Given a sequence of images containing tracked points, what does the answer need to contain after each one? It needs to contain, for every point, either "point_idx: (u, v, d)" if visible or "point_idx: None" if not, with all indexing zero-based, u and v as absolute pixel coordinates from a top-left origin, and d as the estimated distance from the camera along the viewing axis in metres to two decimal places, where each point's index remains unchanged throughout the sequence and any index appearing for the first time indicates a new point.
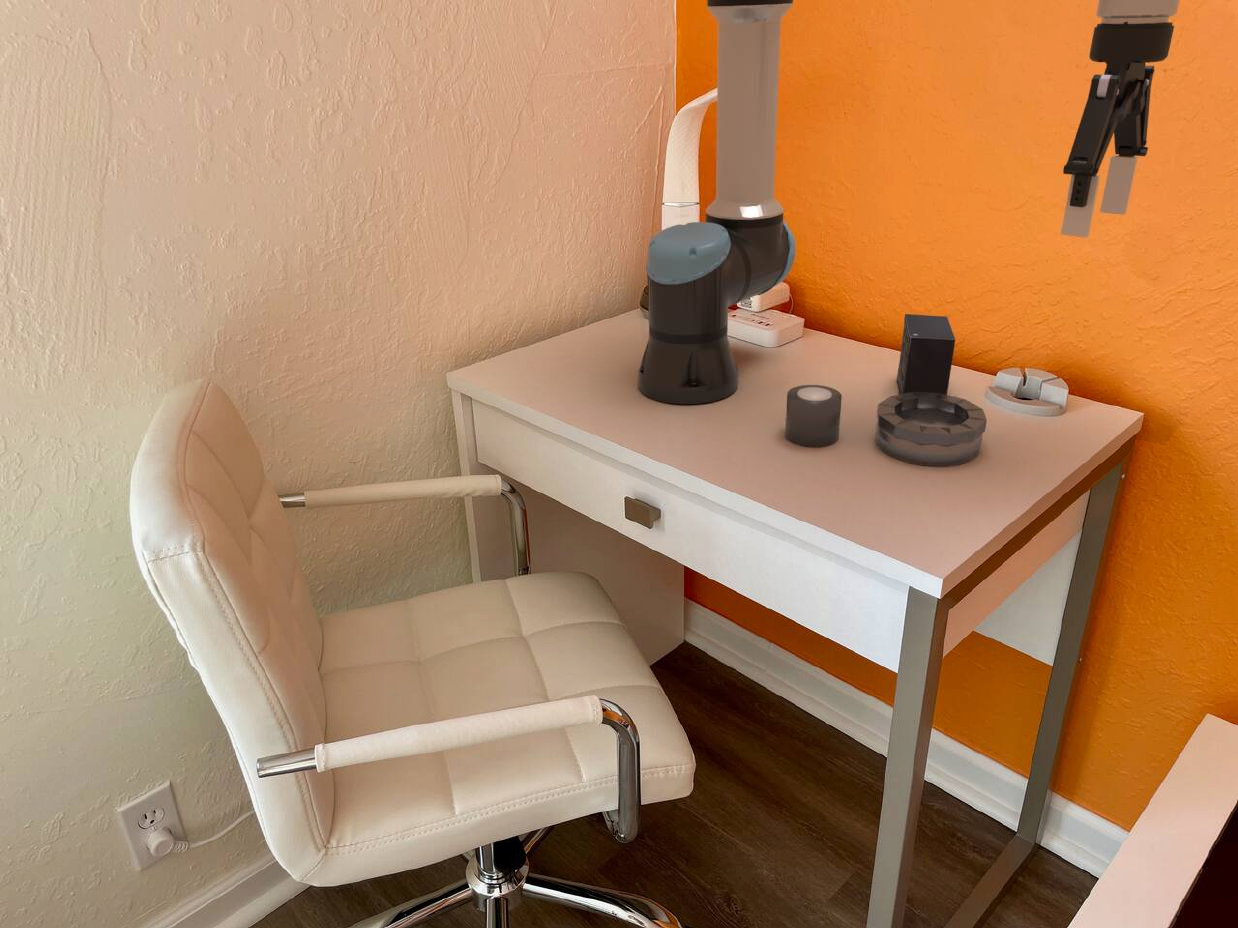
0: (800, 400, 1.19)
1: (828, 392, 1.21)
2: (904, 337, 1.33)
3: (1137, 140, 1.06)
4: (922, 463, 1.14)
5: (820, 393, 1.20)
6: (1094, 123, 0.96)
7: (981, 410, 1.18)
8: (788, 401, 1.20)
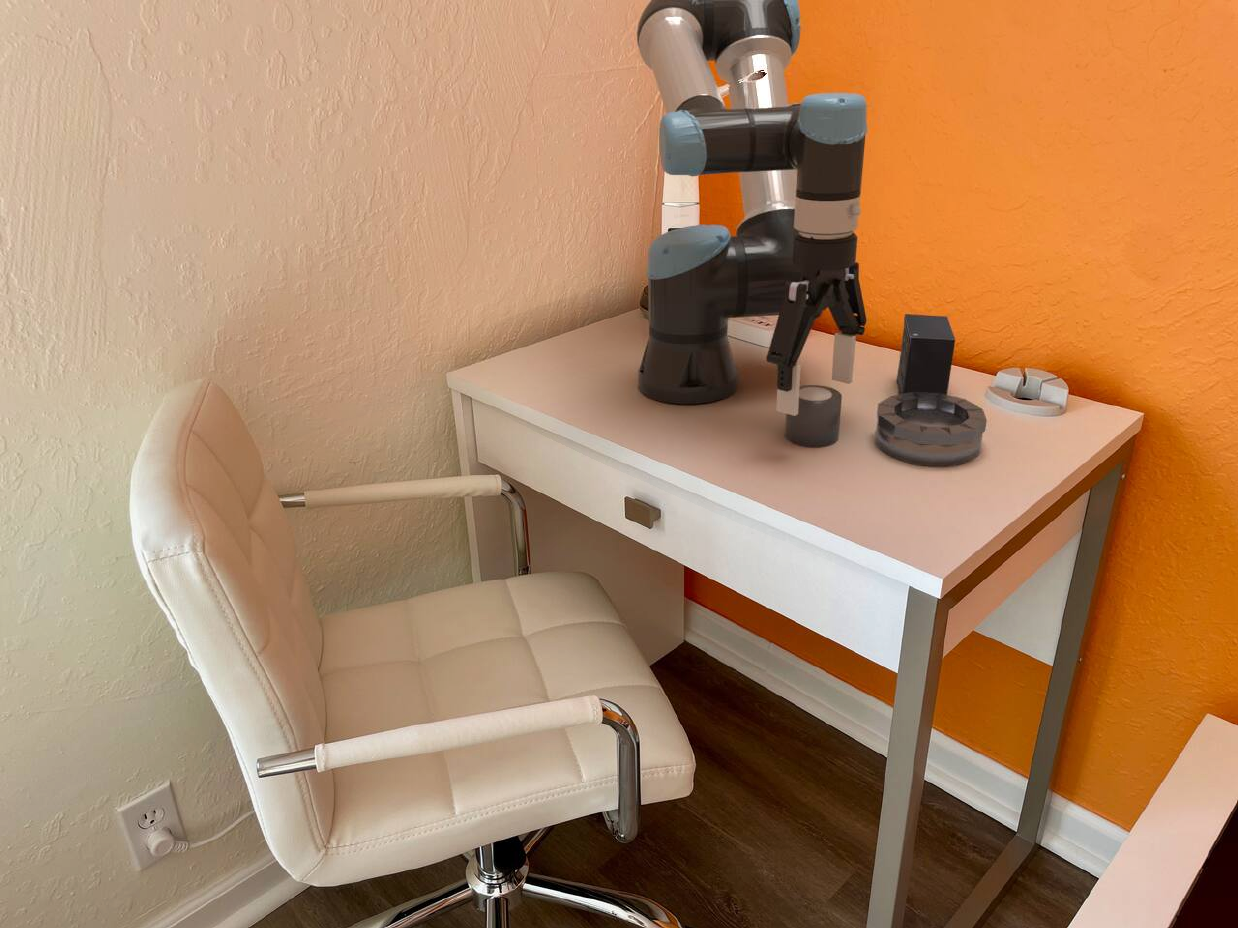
0: (800, 400, 1.19)
1: (828, 392, 1.21)
2: (904, 337, 1.33)
3: (852, 323, 1.20)
4: (922, 463, 1.14)
5: (820, 393, 1.20)
6: (787, 323, 1.09)
7: (981, 410, 1.18)
8: None
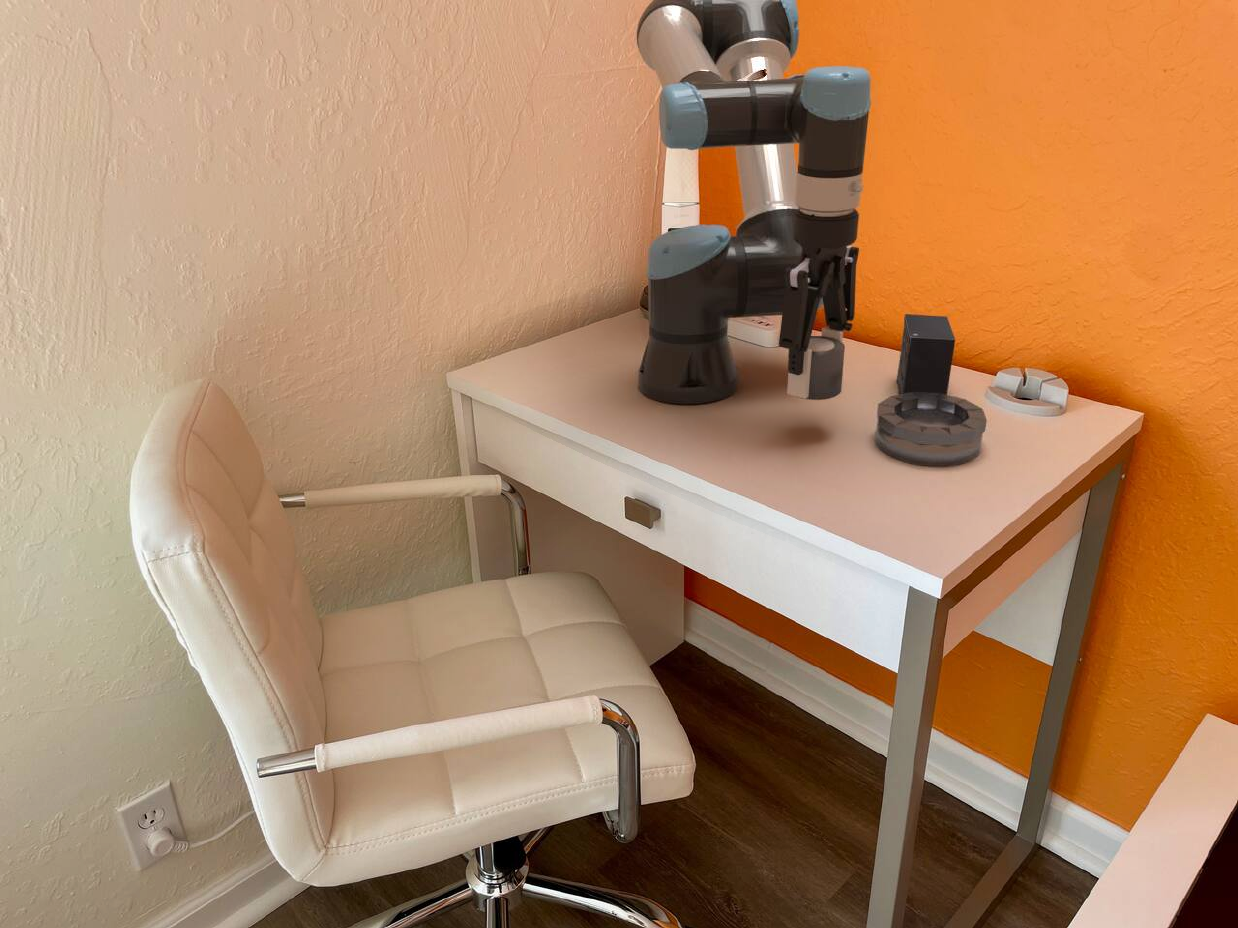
0: None
1: (831, 343, 1.18)
2: (904, 337, 1.33)
3: (841, 314, 1.18)
4: (922, 463, 1.14)
5: (822, 344, 1.18)
6: (793, 311, 1.10)
7: (981, 410, 1.18)
8: None
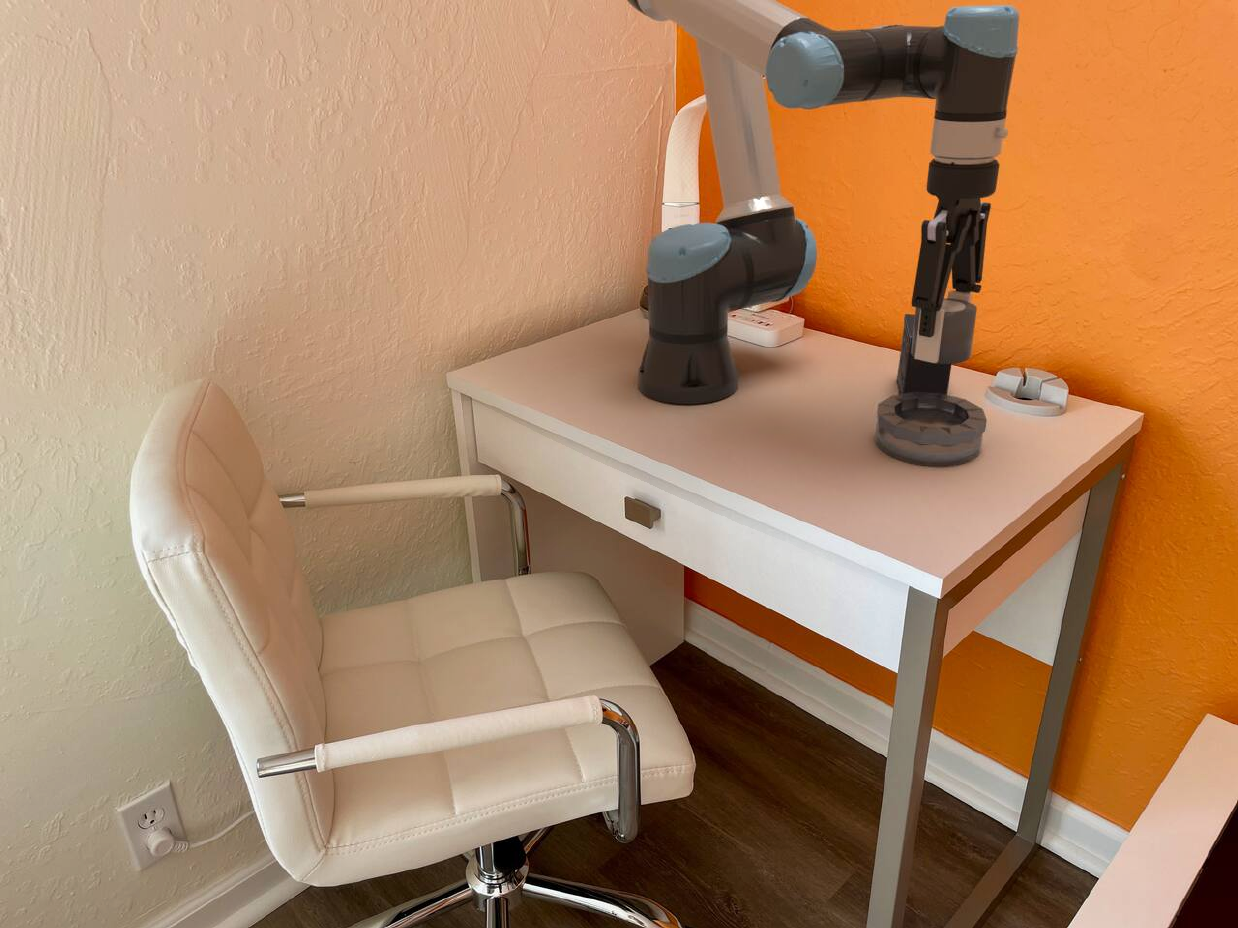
0: None
1: (961, 304, 1.11)
2: (904, 337, 1.33)
3: (971, 274, 1.12)
4: (922, 463, 1.14)
5: (952, 305, 1.11)
6: (929, 266, 1.04)
7: (981, 410, 1.18)
8: (918, 314, 1.11)
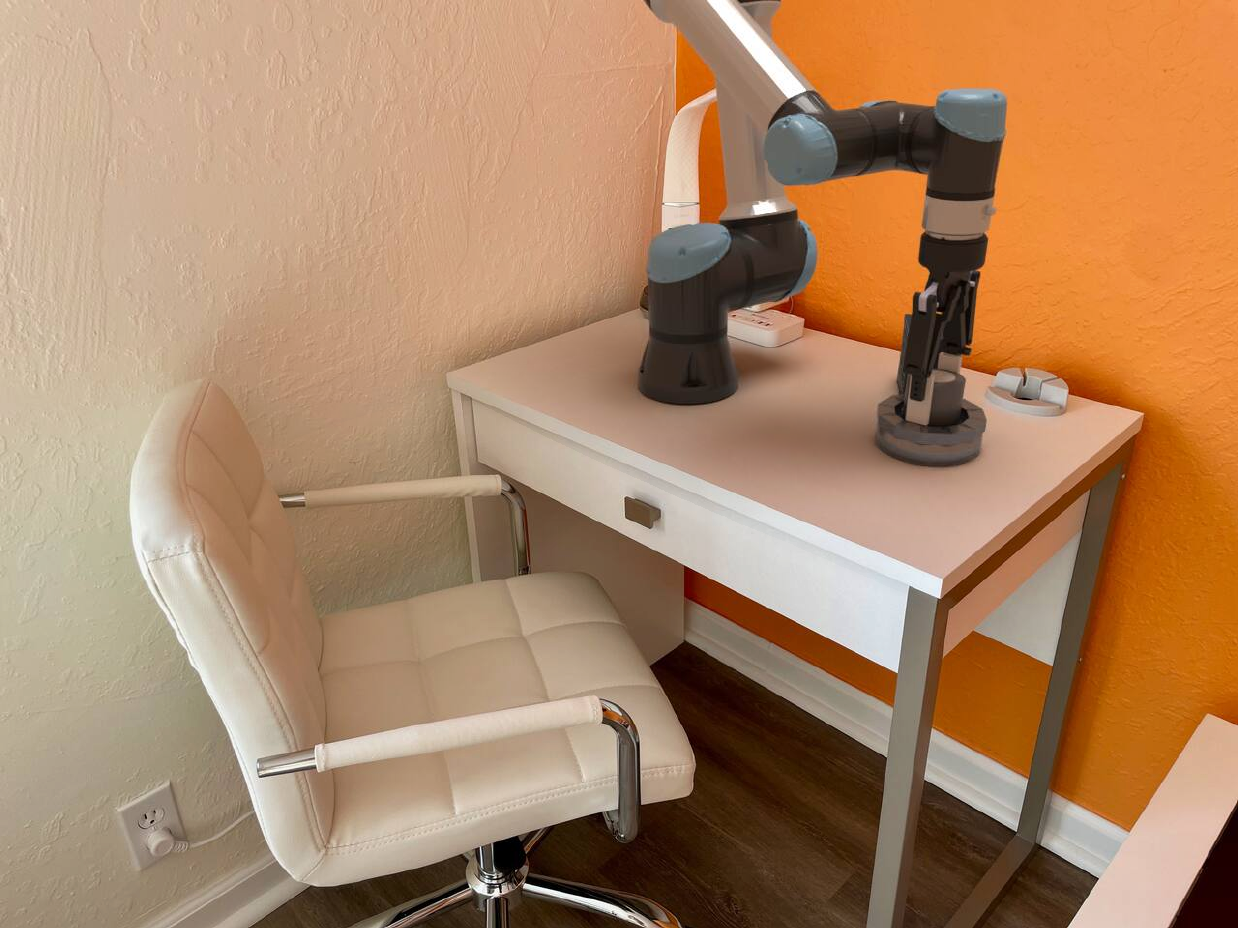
0: None
1: (951, 375, 1.16)
2: (904, 337, 1.33)
3: (962, 339, 1.16)
4: (922, 463, 1.14)
5: (943, 375, 1.16)
6: (920, 336, 1.08)
7: (981, 410, 1.18)
8: (909, 382, 1.16)
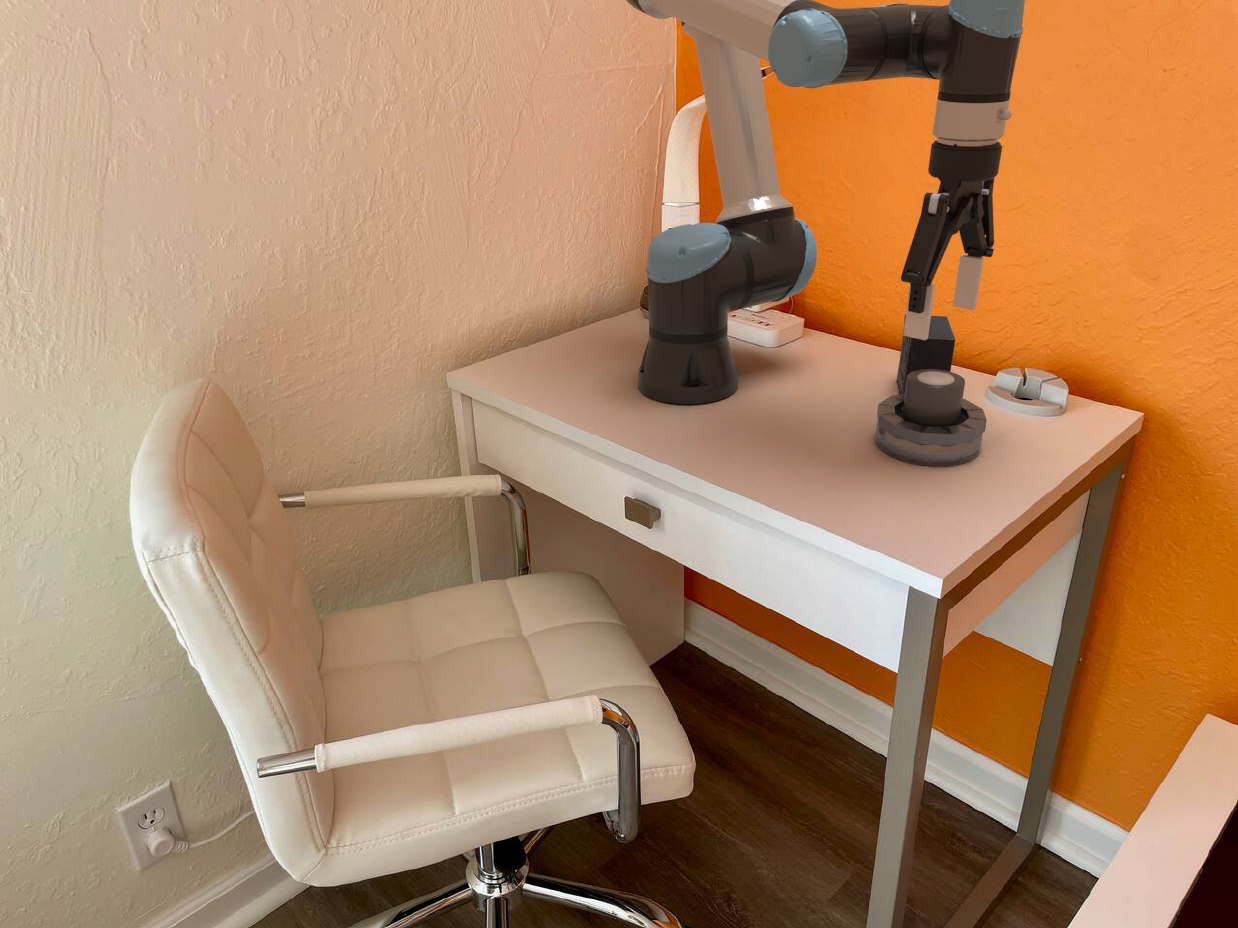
0: (922, 384, 1.14)
1: (950, 376, 1.16)
2: (904, 337, 1.33)
3: (981, 243, 1.12)
4: (922, 463, 1.14)
5: (942, 377, 1.16)
6: (925, 238, 1.02)
7: (981, 410, 1.18)
8: (908, 386, 1.16)
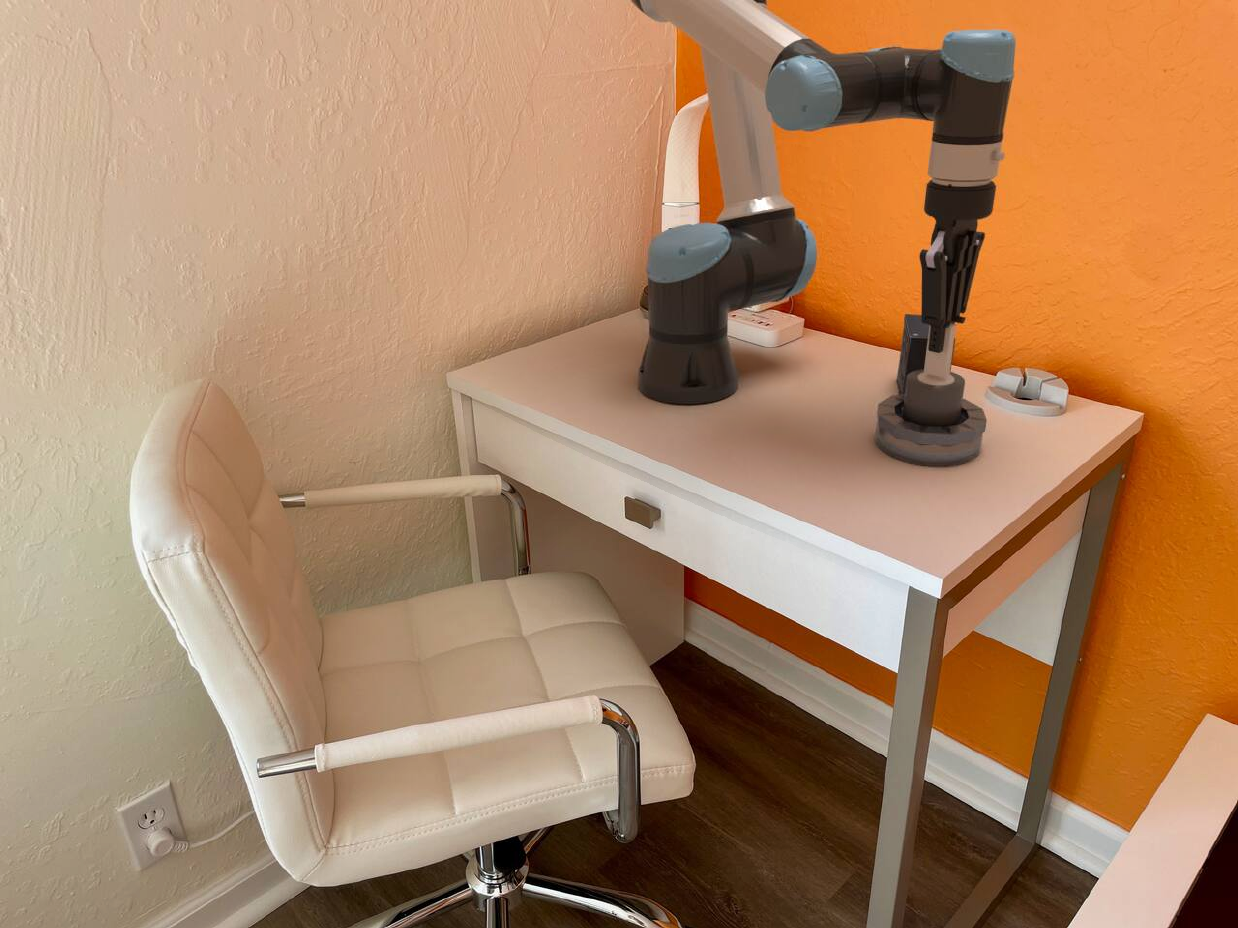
0: (922, 384, 1.14)
1: (950, 376, 1.16)
2: (904, 337, 1.33)
3: (958, 302, 1.11)
4: (922, 463, 1.14)
5: (942, 377, 1.16)
6: (933, 290, 1.07)
7: (981, 410, 1.18)
8: (908, 386, 1.16)
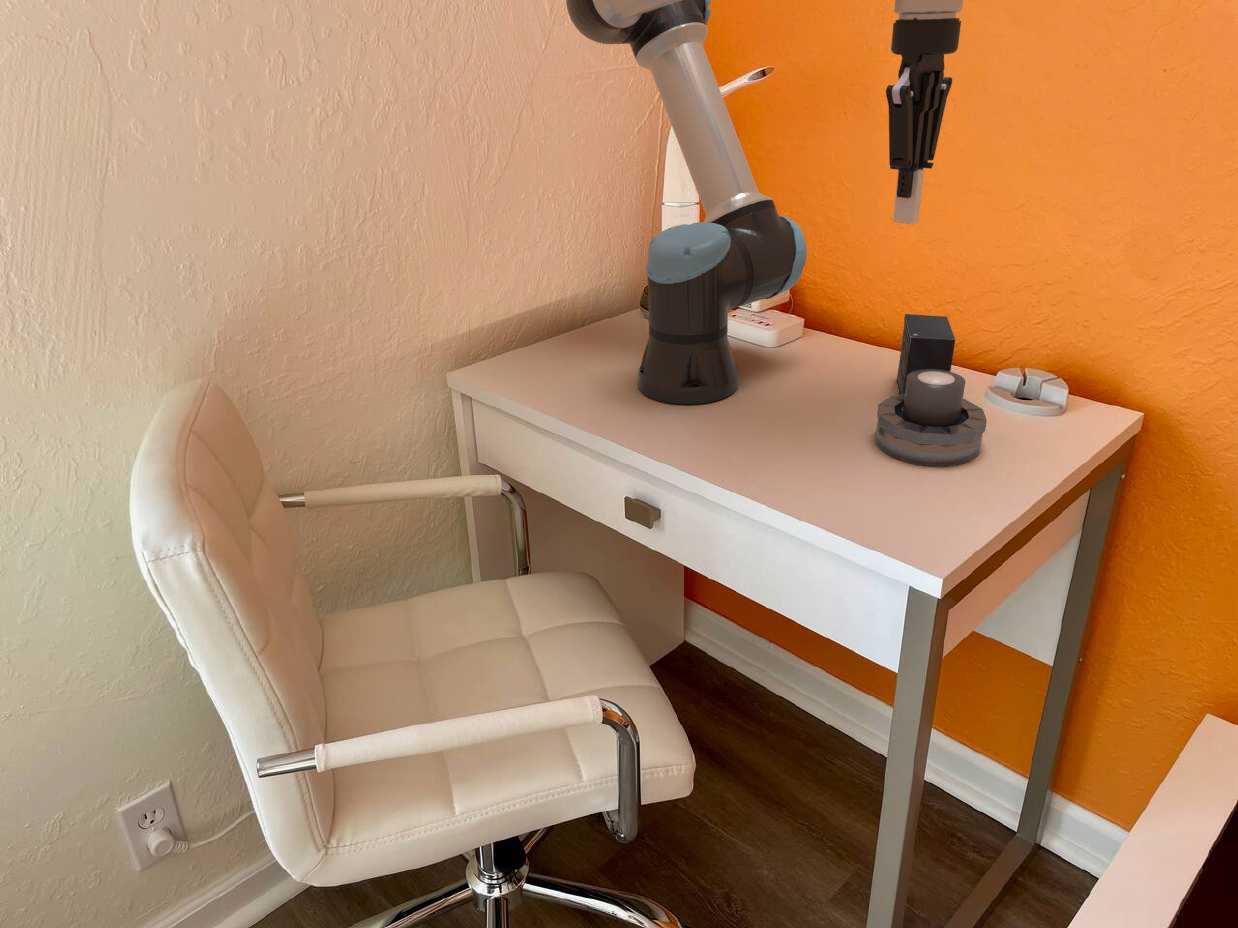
0: (922, 384, 1.15)
1: (950, 376, 1.16)
2: (904, 337, 1.33)
3: (926, 146, 1.13)
4: (922, 463, 1.14)
5: (942, 377, 1.16)
6: (900, 128, 1.09)
7: (981, 410, 1.18)
8: (908, 385, 1.16)
